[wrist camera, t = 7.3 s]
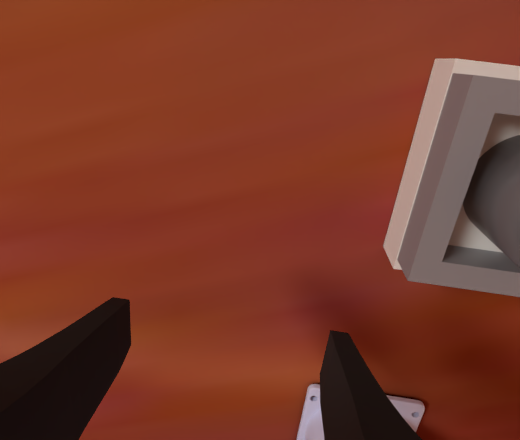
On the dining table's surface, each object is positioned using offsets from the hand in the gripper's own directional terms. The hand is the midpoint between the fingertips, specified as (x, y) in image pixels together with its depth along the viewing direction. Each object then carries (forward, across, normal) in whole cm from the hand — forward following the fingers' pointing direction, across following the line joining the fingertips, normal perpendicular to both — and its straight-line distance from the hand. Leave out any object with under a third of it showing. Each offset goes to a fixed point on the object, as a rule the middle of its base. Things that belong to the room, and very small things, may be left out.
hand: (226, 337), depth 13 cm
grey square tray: (+9, -12, -5) cm, 16 cm away
